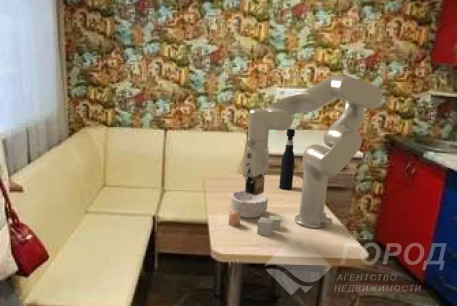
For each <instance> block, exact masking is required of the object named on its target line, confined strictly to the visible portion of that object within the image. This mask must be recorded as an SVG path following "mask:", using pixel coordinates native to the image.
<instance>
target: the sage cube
mask: <svg viewBox="0 0 457 306" xmlns="http://www.w3.org/2000/svg"><path fill="white" fill-rule="evenodd" d="M268 216H269V217H268V218H270V219H274V230H280V229H281V228H280V227H281V217H280V215H268Z"/></svg>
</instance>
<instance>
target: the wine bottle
mask: <svg viewBox="0 0 457 306" xmlns="http://www.w3.org/2000/svg"><path fill="white" fill-rule="evenodd" d="M295 133H296V129H294V128H288V129H287V130H286V137H287V140H286V144H285V149H284V152H283V154H282V158H281V162H280V163H281V166H280V174H279V186H278V188H279V189H280V190H283V191H291V190H292V189H293V182H294V181H293V180H294V170H295V163H296V162H295V154H294V141H293V140H294V137H295V136H296V134H295Z"/></svg>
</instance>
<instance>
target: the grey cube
mask: <svg viewBox="0 0 457 306" xmlns="http://www.w3.org/2000/svg"><path fill="white" fill-rule="evenodd" d="M274 230H275V229H274V219H270V218H269V217H263V216H260V218H259V219H258V221H257V229H256V231H257V232H256V235H260V236H264V237H271V236H272V235H273V233H274Z"/></svg>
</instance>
